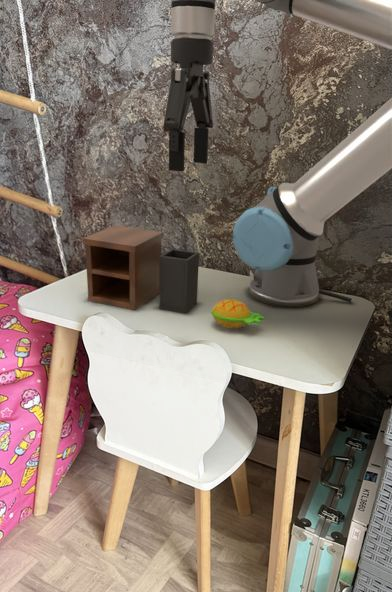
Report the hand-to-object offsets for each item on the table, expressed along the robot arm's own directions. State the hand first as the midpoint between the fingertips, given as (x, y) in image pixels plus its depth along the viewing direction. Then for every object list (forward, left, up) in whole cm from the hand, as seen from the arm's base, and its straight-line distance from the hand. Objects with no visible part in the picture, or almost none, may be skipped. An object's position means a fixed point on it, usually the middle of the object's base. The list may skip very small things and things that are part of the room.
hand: (189, 166), depth 100 cm
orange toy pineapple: (-15, +10, -27) cm, 33 cm away
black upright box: (-1, +5, -27) cm, 27 cm away
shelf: (+12, +5, -27) cm, 30 cm away
